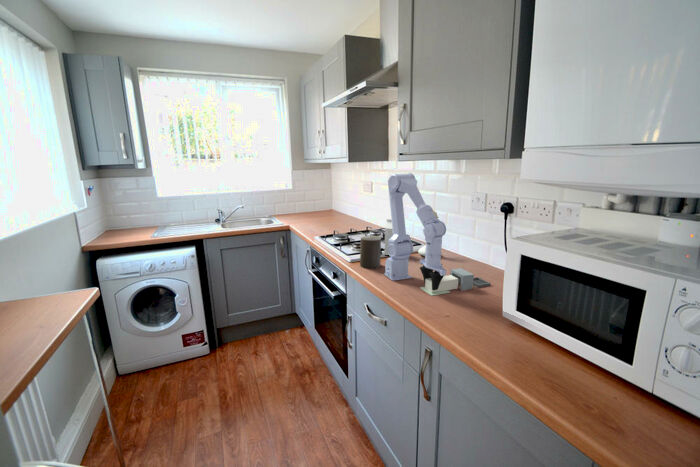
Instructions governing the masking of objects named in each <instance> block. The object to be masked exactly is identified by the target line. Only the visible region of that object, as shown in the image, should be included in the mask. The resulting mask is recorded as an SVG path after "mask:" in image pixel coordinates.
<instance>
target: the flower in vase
mask: <svg viewBox="0 0 700 467" xmlns="http://www.w3.org/2000/svg"><path fill="white" fill-rule="evenodd" d="M432 210H433V212H434V214H435V216H436V217H437V219H439V216H438V214H437V212H436V210H434V209H433V208H432ZM417 253H418V254H419V255H421V256H423V257H425V253H426V244H425V245H423V246H421V247H420V248H419V249H418V251H417Z"/></svg>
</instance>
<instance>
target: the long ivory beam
mask: <svg viewBox="0 0 700 467" xmlns="http://www.w3.org/2000/svg"><path fill="white" fill-rule="evenodd" d="M424 287H425V289H427V290H428V291H430V292H431V293H433V292H439V291H445V290H448V291H450V290H456V289H459V283H458V278H456V277H454V276H452V275H450V274H449V275H445V276H444V277H443V278H442V280H441V282H440V284H439V287H438V290H432V280H431V278H428V279H425V283H424Z"/></svg>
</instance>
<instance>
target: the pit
mask: <svg viewBox="0 0 700 467" xmlns="http://www.w3.org/2000/svg"><path fill="white" fill-rule="evenodd" d="M488 286H491V282H489V281H487V280H485V279H483V278H482V277H479V276H475V277H474V279H473V287H476V288H482V287H488Z"/></svg>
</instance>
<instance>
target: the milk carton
mask: <svg viewBox="0 0 700 467" xmlns="http://www.w3.org/2000/svg"><path fill="white" fill-rule="evenodd" d="M392 236H393V228H392V219H386V222H385V226H384V253H383V254H386V255H389V253H388V245H389V242H388V240H389V239H390V238H391V237H392ZM399 242H401V241H399ZM388 257H390V255H389V256H388Z"/></svg>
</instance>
